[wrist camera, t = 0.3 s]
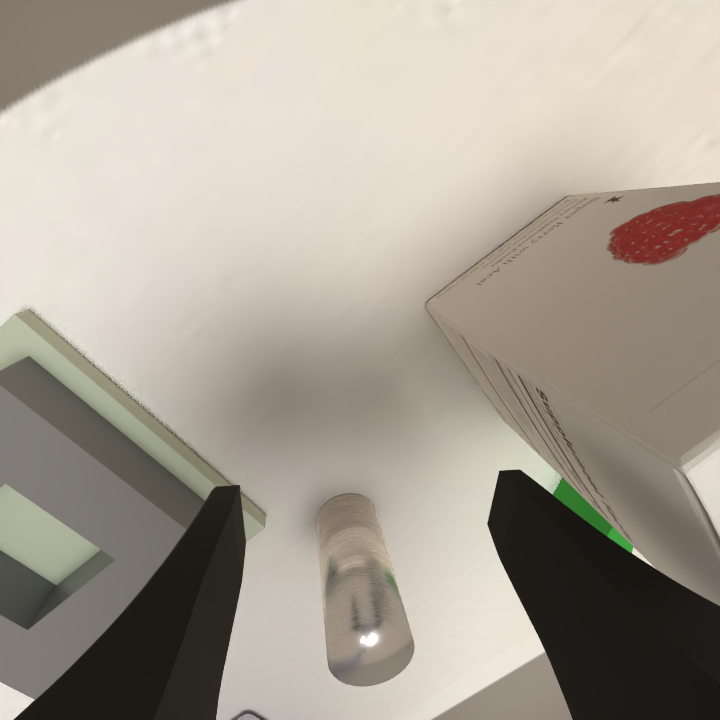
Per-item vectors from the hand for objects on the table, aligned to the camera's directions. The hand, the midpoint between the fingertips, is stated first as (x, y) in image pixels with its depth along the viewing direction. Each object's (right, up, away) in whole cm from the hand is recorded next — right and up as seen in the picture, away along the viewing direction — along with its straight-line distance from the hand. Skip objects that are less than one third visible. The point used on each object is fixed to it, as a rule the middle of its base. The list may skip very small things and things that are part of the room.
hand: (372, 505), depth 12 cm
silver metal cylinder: (-1, -5, +13) cm, 14 cm away
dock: (-16, -3, +10) cm, 19 cm away
